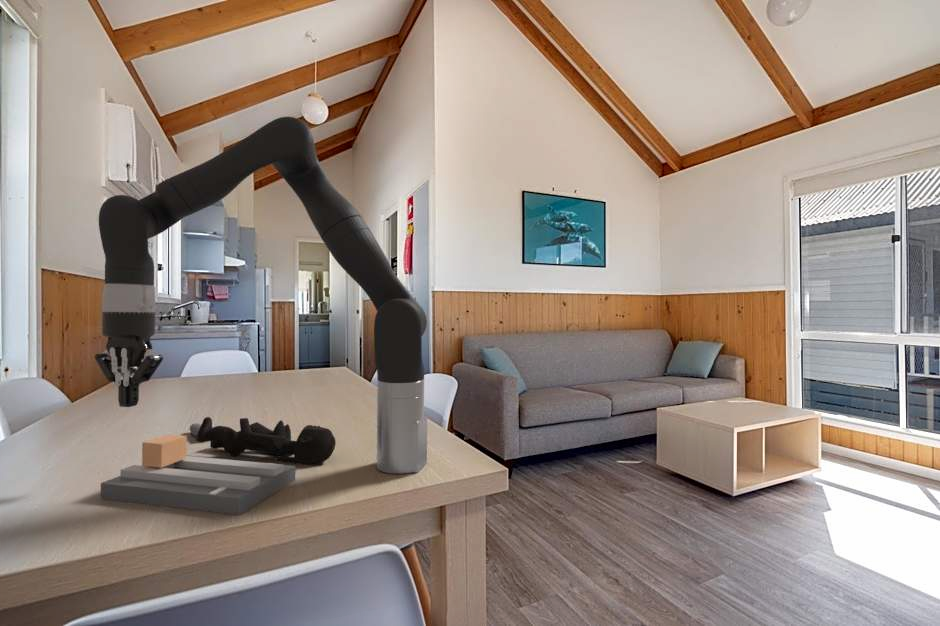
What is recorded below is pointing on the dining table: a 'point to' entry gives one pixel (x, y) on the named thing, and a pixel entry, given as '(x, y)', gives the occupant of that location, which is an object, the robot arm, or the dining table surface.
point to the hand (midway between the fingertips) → (128, 406)
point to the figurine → (271, 441)
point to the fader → (164, 451)
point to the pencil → (195, 429)
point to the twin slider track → (200, 484)
